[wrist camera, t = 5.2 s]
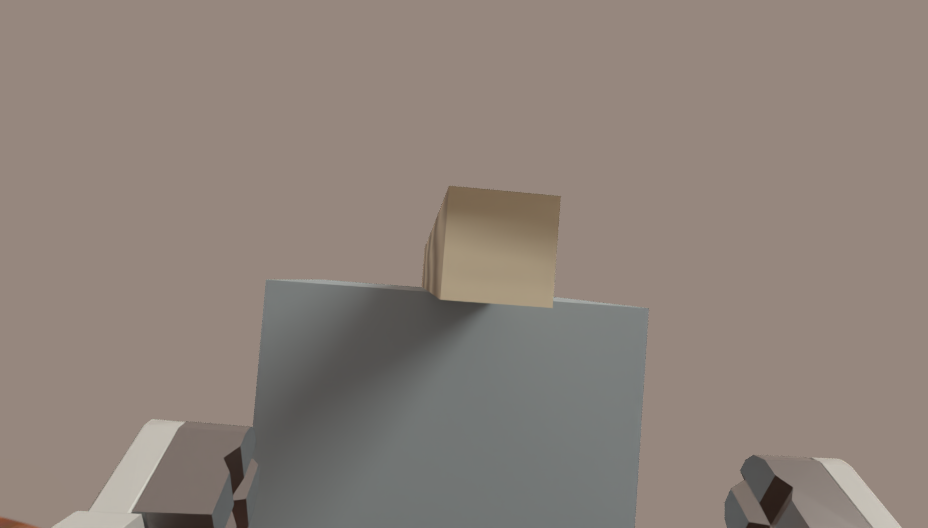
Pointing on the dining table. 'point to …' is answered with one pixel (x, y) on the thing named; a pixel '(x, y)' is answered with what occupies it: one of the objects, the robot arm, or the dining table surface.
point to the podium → (445, 410)
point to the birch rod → (493, 248)
